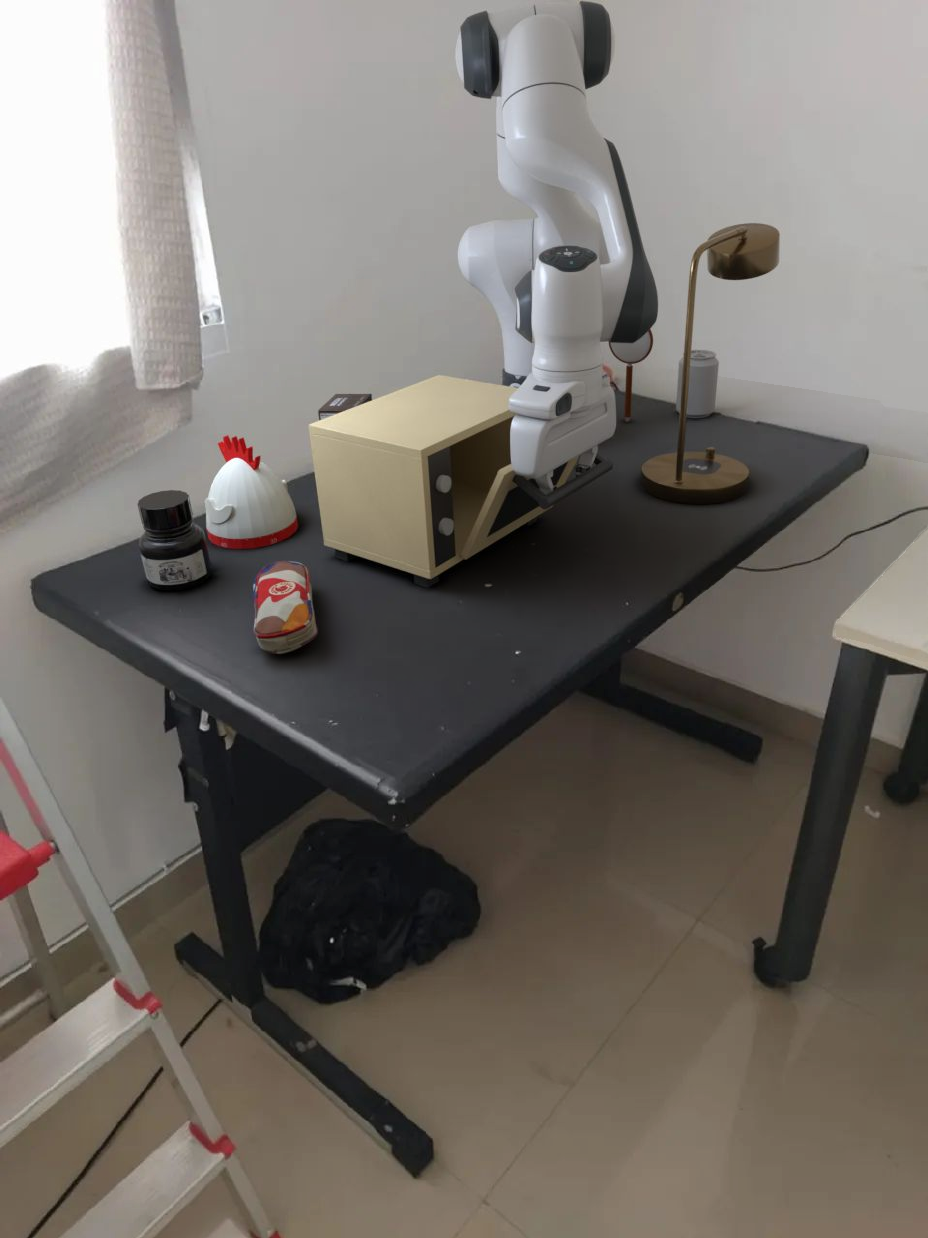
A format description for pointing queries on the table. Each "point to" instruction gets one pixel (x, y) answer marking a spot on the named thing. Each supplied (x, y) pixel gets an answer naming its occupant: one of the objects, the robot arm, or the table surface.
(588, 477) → the oven door
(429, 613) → the table surface
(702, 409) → the can
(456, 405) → the oven
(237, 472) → the kitchen timer
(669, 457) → the lamp
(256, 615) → the pencil case
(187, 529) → the ink bottle
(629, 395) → the magnifying glass
